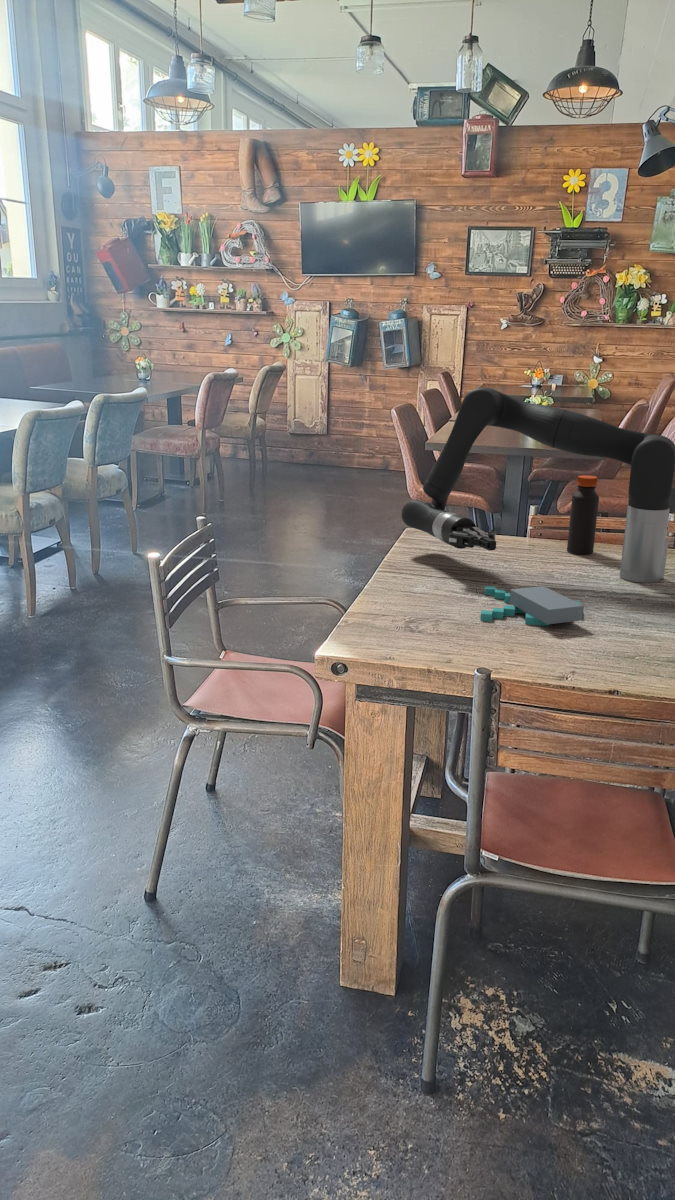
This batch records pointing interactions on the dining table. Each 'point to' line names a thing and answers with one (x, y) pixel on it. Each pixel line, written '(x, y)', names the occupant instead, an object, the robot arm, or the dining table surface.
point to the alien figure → (506, 608)
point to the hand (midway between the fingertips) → (493, 545)
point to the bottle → (583, 516)
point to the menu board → (546, 605)
